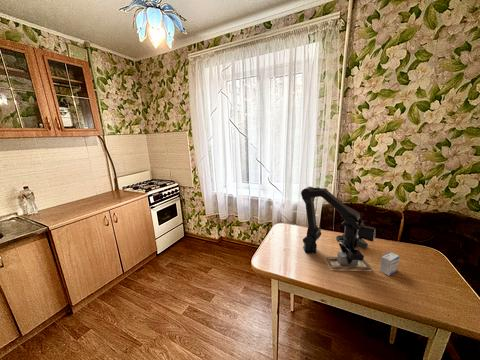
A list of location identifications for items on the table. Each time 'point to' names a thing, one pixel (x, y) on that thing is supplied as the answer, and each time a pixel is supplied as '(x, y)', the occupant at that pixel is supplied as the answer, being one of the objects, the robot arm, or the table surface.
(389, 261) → the medicine box
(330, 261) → the tray
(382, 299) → the table surface
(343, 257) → the grey box with label
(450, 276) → the table surface
